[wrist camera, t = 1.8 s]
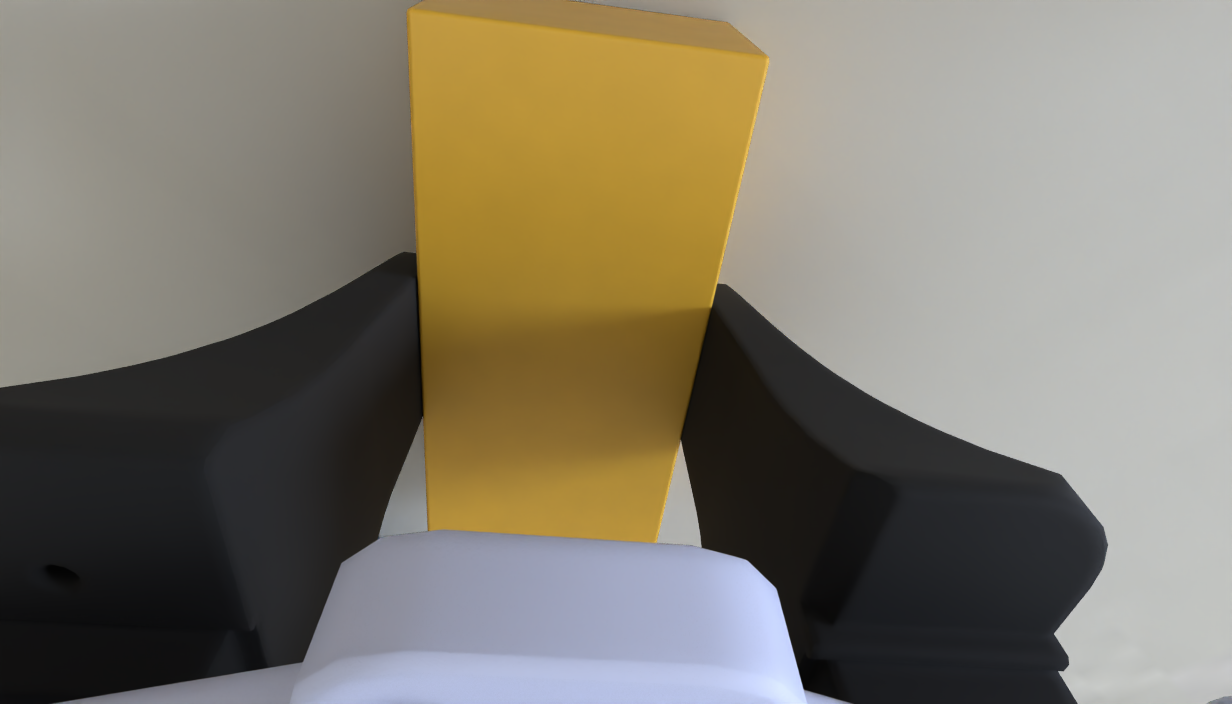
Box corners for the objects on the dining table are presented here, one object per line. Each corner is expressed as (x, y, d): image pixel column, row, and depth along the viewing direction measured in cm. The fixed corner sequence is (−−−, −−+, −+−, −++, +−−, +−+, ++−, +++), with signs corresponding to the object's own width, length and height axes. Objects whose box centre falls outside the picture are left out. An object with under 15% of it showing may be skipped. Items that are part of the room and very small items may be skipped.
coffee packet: (641, 472, 16) (649, 574, 14) (454, 458, 16) (428, 560, 13) (731, 22, 11) (771, 56, 8) (450, -17, 10) (404, 7, 8)
